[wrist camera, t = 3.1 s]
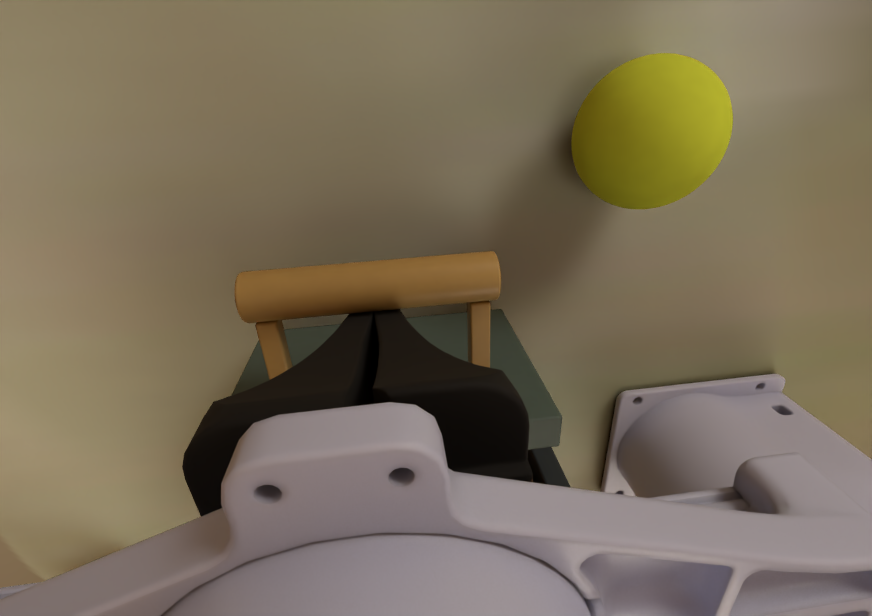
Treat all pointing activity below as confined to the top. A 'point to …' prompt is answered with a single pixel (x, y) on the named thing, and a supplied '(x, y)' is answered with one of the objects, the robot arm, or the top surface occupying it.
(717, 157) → the ball
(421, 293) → the drawer
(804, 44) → the top surface
